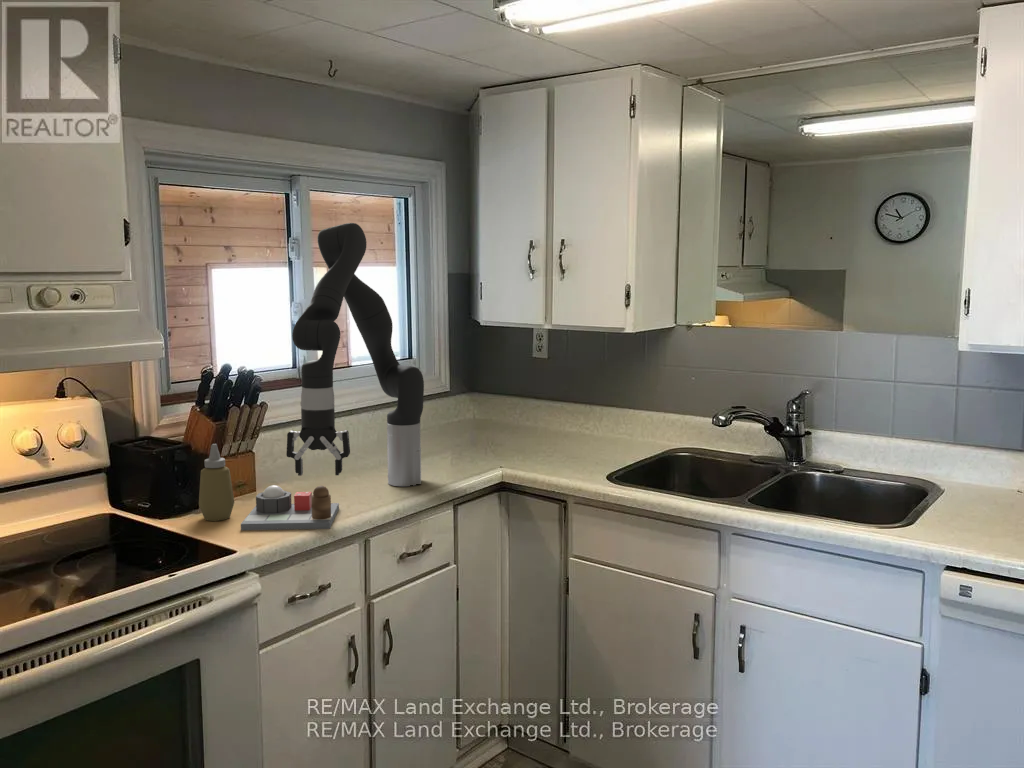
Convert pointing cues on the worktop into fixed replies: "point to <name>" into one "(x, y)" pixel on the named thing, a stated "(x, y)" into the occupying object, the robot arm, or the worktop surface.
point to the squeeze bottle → (215, 488)
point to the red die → (302, 501)
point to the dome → (273, 492)
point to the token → (321, 503)
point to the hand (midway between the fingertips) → (318, 474)
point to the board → (284, 515)
